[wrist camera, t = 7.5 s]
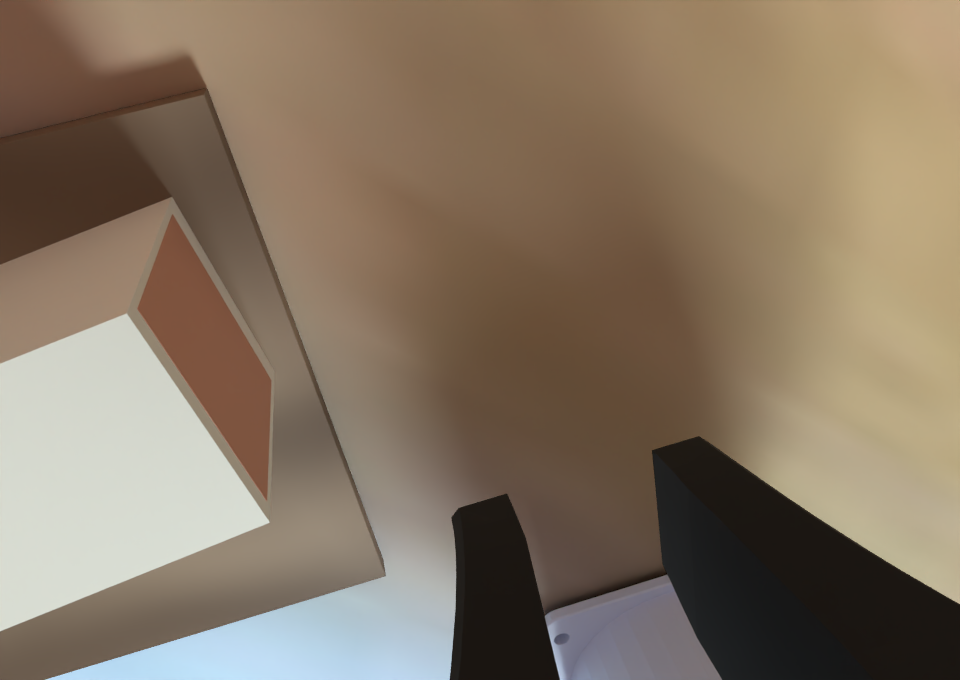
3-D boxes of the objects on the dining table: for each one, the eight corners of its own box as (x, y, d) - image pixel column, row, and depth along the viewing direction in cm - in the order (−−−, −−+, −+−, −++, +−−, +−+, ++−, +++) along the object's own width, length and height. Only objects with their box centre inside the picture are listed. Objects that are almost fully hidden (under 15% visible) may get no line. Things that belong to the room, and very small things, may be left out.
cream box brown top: (274, 371, 18) (270, 522, 13) (-54, 502, 17) (-164, 697, 13) (172, 196, 15) (127, 313, 11) (-210, 347, 15) (-406, 524, 11)
